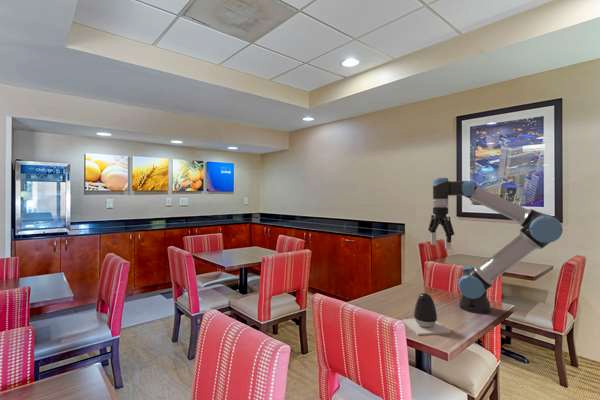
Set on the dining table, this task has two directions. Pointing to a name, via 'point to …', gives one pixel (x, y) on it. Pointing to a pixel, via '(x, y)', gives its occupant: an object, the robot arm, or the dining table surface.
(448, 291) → the dining table surface
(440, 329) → the ceramic tile
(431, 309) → the pump dispenser
